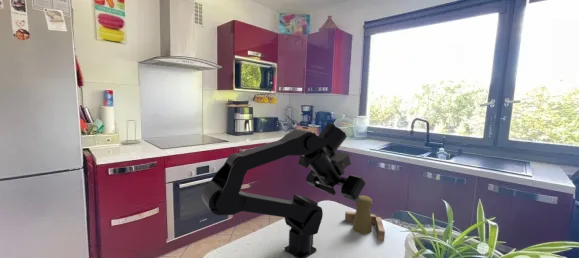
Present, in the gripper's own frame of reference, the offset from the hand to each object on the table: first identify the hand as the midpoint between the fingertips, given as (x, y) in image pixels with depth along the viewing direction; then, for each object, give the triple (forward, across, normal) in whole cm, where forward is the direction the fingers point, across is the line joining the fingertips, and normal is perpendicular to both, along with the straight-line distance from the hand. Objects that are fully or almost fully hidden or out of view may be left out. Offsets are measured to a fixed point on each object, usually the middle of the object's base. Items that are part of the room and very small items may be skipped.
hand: (345, 197), depth 80 cm
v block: (+16, -1, 0) cm, 16 cm away
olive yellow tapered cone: (+14, -1, +3) cm, 14 cm away
